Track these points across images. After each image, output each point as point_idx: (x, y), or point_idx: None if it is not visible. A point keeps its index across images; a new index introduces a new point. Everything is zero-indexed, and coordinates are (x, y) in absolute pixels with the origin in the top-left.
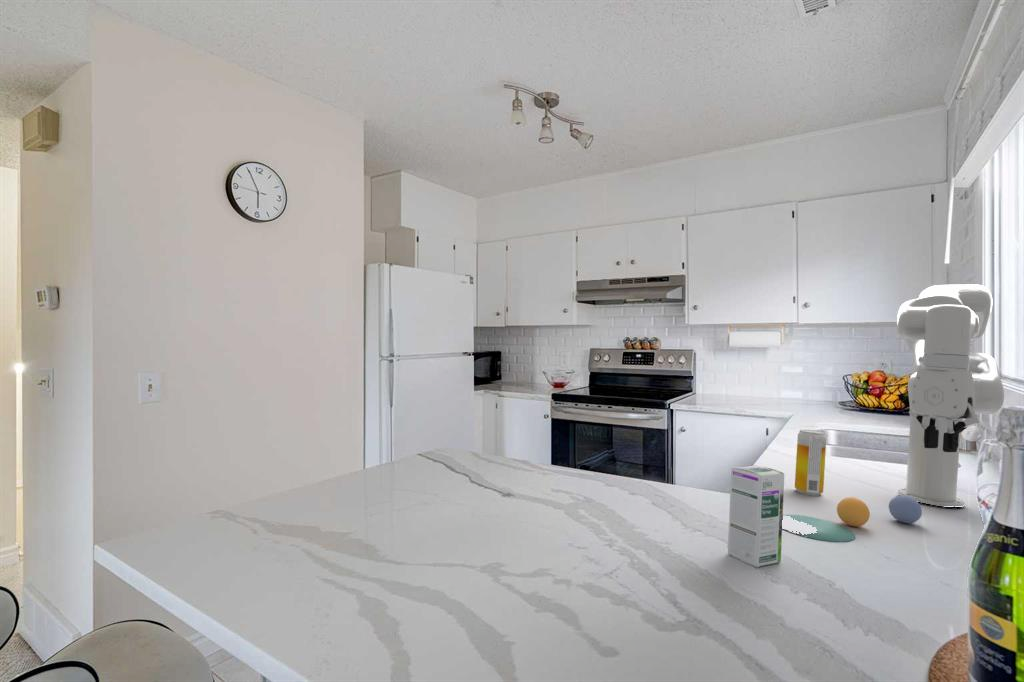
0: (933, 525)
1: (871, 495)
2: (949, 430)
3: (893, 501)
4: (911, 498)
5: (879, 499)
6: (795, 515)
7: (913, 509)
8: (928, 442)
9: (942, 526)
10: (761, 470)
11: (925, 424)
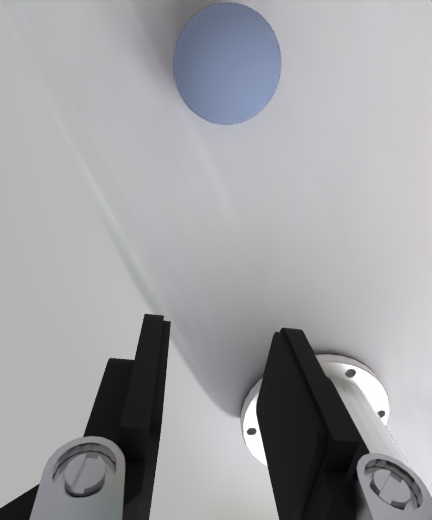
0: (174, 155)
1: (418, 298)
2: (96, 471)
3: (256, 15)
4: (209, 63)
5: (387, 278)
6: None
7: (182, 33)
8: (285, 356)
9: (159, 177)
10: None
11: (395, 513)
